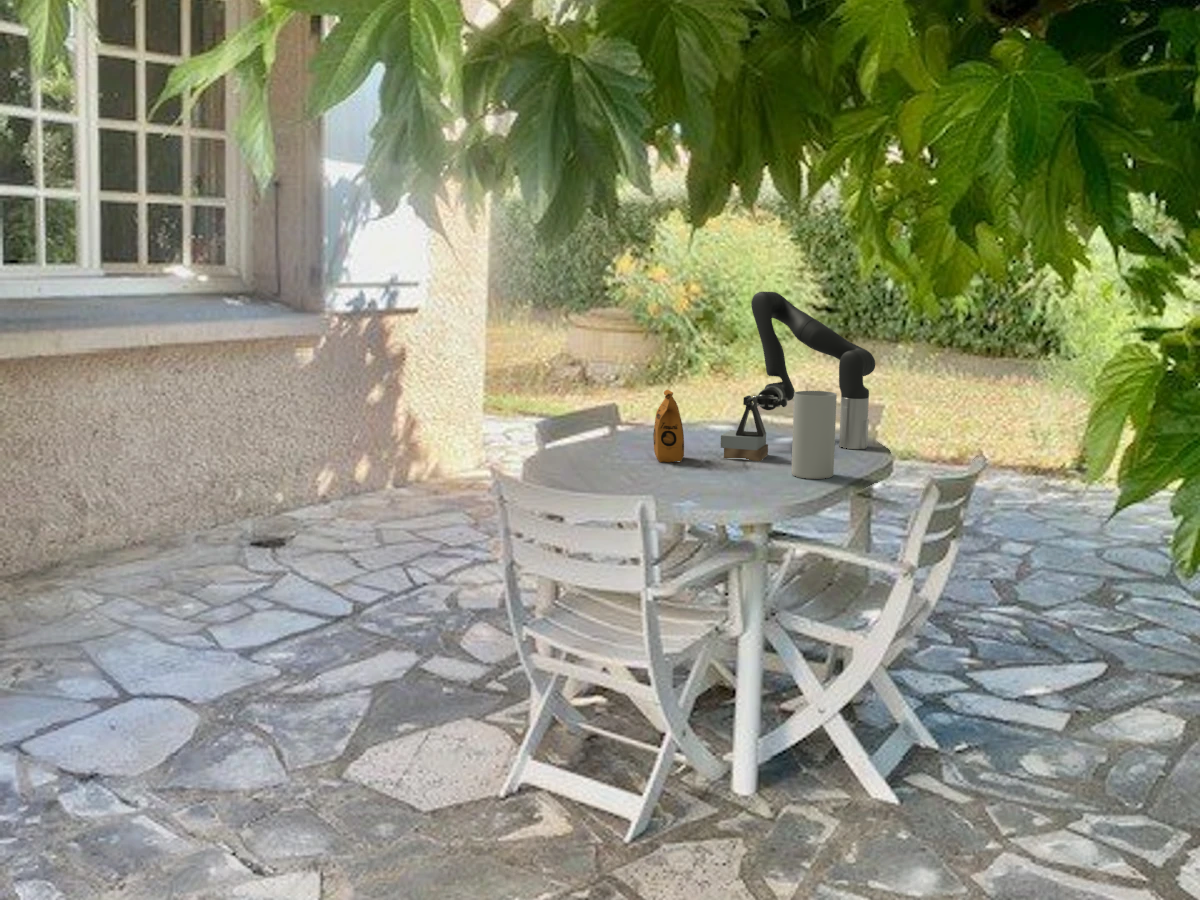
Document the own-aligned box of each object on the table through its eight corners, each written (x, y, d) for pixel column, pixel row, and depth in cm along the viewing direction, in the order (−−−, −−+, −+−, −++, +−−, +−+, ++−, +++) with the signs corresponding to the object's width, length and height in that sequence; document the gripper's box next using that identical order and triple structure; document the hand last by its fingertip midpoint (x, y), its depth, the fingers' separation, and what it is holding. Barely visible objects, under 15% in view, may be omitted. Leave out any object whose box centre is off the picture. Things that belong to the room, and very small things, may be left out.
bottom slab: (767, 456, 413) (768, 444, 412) (760, 462, 401) (760, 450, 401) (731, 454, 416) (732, 442, 416) (723, 460, 405) (724, 448, 405)
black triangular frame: (735, 435, 404) (736, 398, 402) (738, 432, 410) (738, 395, 408) (763, 436, 402) (764, 399, 400) (765, 433, 408) (766, 396, 405)
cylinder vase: (829, 481, 370) (832, 397, 366) (787, 477, 375) (790, 394, 370) (836, 473, 382) (840, 391, 377) (796, 470, 386) (798, 389, 382)
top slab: (765, 444, 412) (766, 432, 411) (756, 450, 401) (757, 437, 400) (730, 441, 416) (730, 430, 415) (720, 447, 405) (720, 435, 404)
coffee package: (652, 462, 398) (653, 393, 394) (653, 455, 410) (654, 388, 406) (684, 463, 397) (685, 394, 393) (683, 456, 409) (685, 389, 405)
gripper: (750, 386, 432) (740, 391, 416) (791, 387, 427) (783, 393, 412) (749, 407, 433) (740, 414, 418) (791, 409, 428) (782, 416, 413)
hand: (761, 403), depth 415 cm, fingers open, 8 cm apart
